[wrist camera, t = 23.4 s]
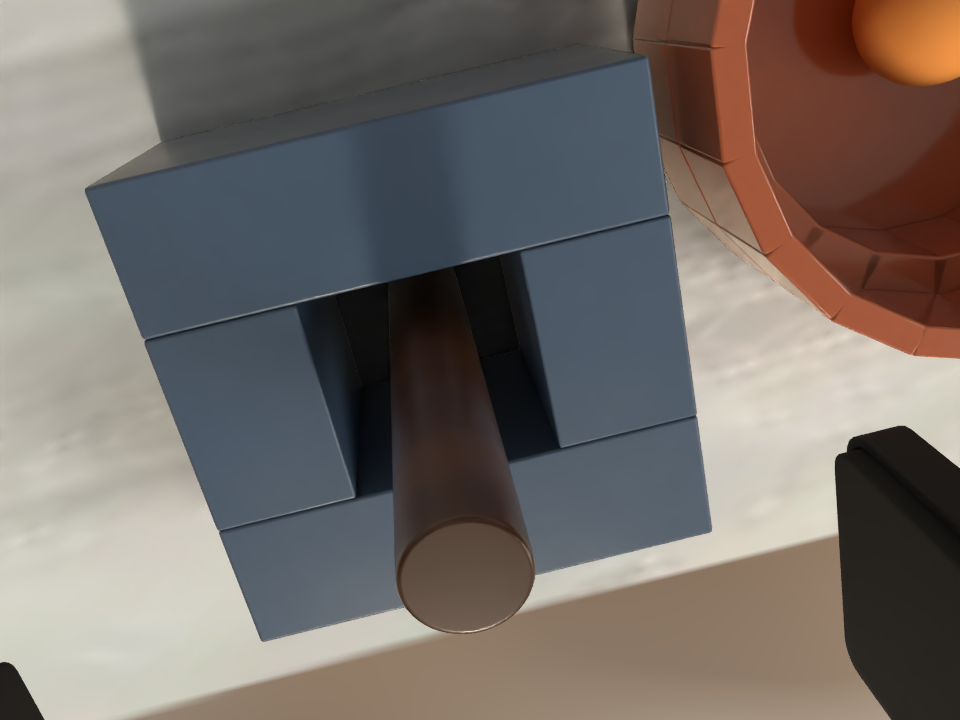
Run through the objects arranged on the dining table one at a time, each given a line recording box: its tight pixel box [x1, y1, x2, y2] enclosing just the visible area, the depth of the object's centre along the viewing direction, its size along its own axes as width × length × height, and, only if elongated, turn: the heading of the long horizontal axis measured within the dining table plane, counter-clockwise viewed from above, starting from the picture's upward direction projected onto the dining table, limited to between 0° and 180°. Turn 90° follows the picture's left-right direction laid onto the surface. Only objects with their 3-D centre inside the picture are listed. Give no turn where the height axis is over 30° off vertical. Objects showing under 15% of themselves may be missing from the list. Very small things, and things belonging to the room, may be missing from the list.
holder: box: [85, 44, 712, 642], centre depth 20 cm, size 10×10×6 cm
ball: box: [852, 0, 960, 87], centre depth 20 cm, size 3×3×3 cm
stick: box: [388, 267, 536, 634], centre depth 17 cm, size 2×2×13 cm
